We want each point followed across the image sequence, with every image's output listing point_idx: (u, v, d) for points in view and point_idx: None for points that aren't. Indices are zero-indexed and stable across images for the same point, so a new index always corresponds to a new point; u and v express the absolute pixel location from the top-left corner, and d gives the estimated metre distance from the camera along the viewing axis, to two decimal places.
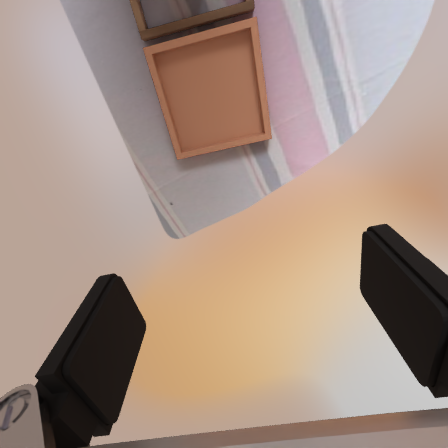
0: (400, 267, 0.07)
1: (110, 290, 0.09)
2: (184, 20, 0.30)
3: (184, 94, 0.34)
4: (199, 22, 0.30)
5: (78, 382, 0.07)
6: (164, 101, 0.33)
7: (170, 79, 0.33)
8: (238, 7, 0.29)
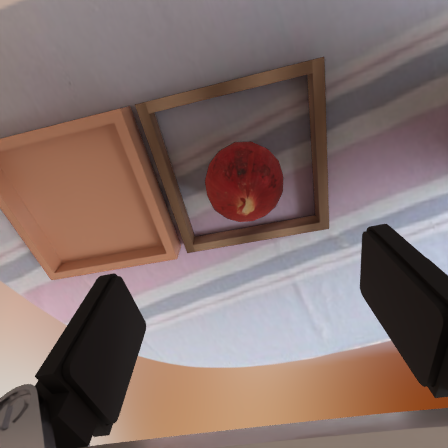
0: (400, 267, 0.07)
1: (110, 290, 0.09)
2: (167, 173, 0.21)
3: (79, 162, 0.22)
4: (167, 193, 0.22)
5: (78, 382, 0.07)
6: (50, 136, 0.19)
7: (94, 141, 0.21)
8: (186, 237, 0.24)
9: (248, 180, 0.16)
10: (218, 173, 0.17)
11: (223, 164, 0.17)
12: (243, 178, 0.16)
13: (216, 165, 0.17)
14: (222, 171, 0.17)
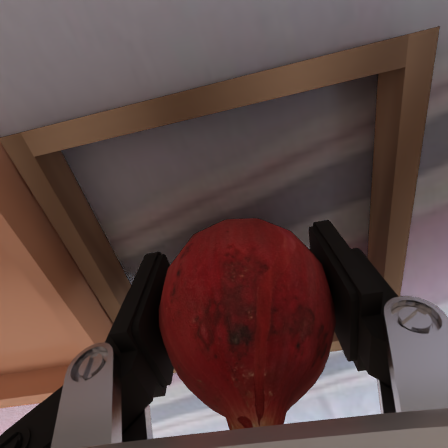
0: (328, 257, 0.08)
1: (159, 265, 0.10)
2: (93, 265, 0.11)
3: None
4: (98, 295, 0.12)
5: (144, 342, 0.07)
6: None
7: None
8: None
9: (259, 364, 0.06)
10: (181, 318, 0.07)
11: (194, 297, 0.07)
12: (247, 357, 0.06)
13: (178, 294, 0.07)
14: (191, 319, 0.07)
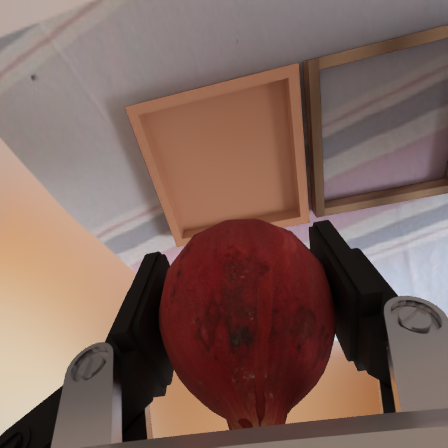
0: (328, 257, 0.08)
1: (159, 265, 0.10)
2: (319, 133, 0.22)
3: (229, 123, 0.22)
4: (314, 153, 0.23)
5: (144, 342, 0.07)
6: (220, 92, 0.20)
7: (250, 100, 0.21)
8: (320, 200, 0.25)
9: (260, 366, 0.06)
10: (181, 319, 0.07)
11: (194, 298, 0.07)
12: (248, 359, 0.06)
13: (179, 295, 0.07)
14: (191, 320, 0.07)
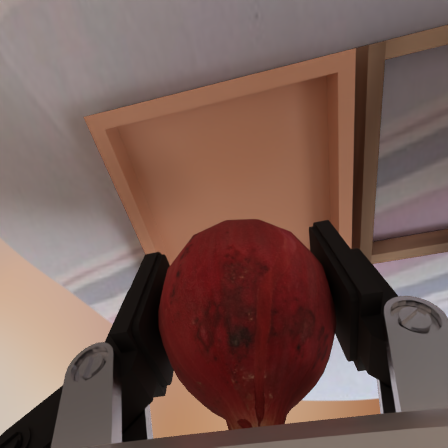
0: (328, 257, 0.08)
1: (159, 265, 0.10)
2: (375, 154, 0.15)
3: (241, 139, 0.15)
4: (364, 183, 0.16)
5: (144, 342, 0.07)
6: (230, 95, 0.13)
7: (273, 107, 0.14)
8: (367, 244, 0.18)
9: (259, 366, 0.06)
10: (180, 320, 0.07)
11: (194, 298, 0.07)
12: (247, 359, 0.06)
13: (178, 296, 0.07)
14: (190, 320, 0.07)
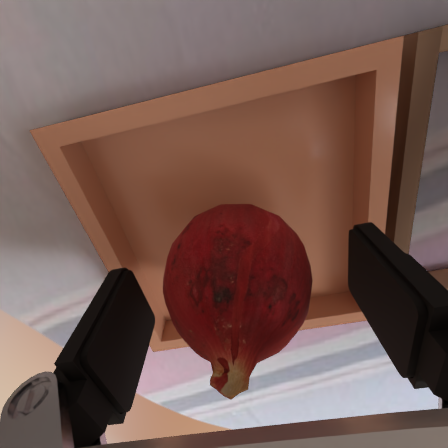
0: (381, 263, 0.07)
1: (122, 283, 0.09)
2: (416, 177, 0.11)
3: (243, 156, 0.12)
4: (400, 211, 0.12)
5: (95, 370, 0.07)
6: (228, 101, 0.09)
7: (284, 115, 0.11)
8: None
9: (236, 318, 0.07)
10: (178, 282, 0.08)
11: (189, 265, 0.08)
12: (227, 313, 0.07)
13: (177, 263, 0.09)
14: (185, 282, 0.08)
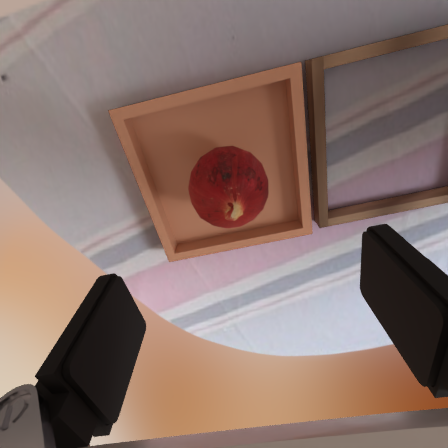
0: (400, 267, 0.07)
1: (110, 290, 0.09)
2: (323, 138, 0.20)
3: (225, 127, 0.20)
4: (317, 160, 0.21)
5: (78, 382, 0.07)
6: (215, 94, 0.18)
7: (247, 103, 0.20)
8: (323, 210, 0.23)
9: (234, 184, 0.16)
10: (201, 179, 0.16)
11: (206, 169, 0.16)
12: (229, 182, 0.16)
13: (199, 171, 0.17)
14: (206, 177, 0.16)
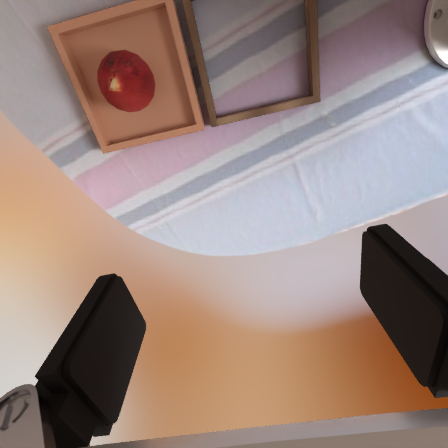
0: (400, 267, 0.07)
1: (110, 290, 0.09)
2: (199, 51, 0.29)
3: (132, 44, 0.29)
4: (199, 69, 0.30)
5: (78, 382, 0.07)
6: (116, 14, 0.27)
7: (145, 25, 0.28)
8: (211, 111, 0.32)
9: (114, 67, 0.24)
10: (99, 68, 0.26)
11: (102, 61, 0.25)
12: (112, 66, 0.25)
13: None
14: (101, 66, 0.25)
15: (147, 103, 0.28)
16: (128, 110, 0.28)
